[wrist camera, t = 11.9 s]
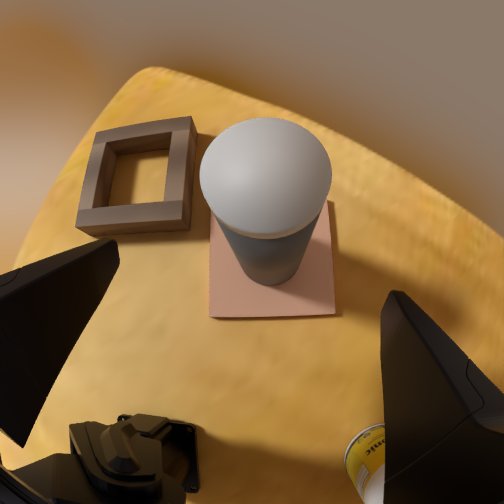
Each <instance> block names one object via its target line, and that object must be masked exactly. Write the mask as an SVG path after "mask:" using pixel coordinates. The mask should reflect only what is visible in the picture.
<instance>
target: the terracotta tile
mask: <svg viewBox="0 0 504 504" xmlns="http://www.w3.org/2000/svg"><path fill="white" fill-rule="evenodd" d="M325 314H336V313H335V291H334V274H333V260H332V247H331V235H330V224H329V214H328V205H327V198H326V200H325V203H324V206H323V208H322V211H321V213H320V216H319V218H318V221H317V223H316V226H315V229H314V231H313V234H312V236H311V239H310V241H309V243H308V246H307V248H306V251H305V253H304V256H303V258H302V261H301V263H300V265H299V268H298V270H297V271H296V273H295V274H294V276H293V277H292V278H290V279H289V280H288V281H286V282H284V283H282V284H280V285H275V286H265V285H261V284H258V283H256V282H254V281H252V280H251V279H250V278H249V277H248V276H247V275H246V274H245V273H244V271H243V269H242V267H241V266H240V264H239V262H238V260H237V258H236V256H235V254H234V252H233V250H232V249H231V247H230V245H229V243H228V241H227V239H226V237H225V235H224V233H223V232H222V230H221V228H220V226H219V224H218V222H217V220H216V218H215V216H214V214H213V212H212V211H211V224H210V265H209V317H277V316H305V315H325Z"/></svg>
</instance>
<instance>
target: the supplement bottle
mask: <svg viewBox="0 0 504 504" xmlns="http://www.w3.org/2000/svg"><path fill="white" fill-rule="evenodd" d="M344 463H345V468H346V471H347V473H348V475H349V476H350V478H351V480H352V482H353V484H354V486H355V487H356V489H357V491H358V493H359V495H360V497H361V498H362V500H363V502H364V504H383V495H384V483H385V482H384V475H385V426H384V423H383V424H376V425H373V426H370V427H368V428H366V429H364V430H363V431H361V432H360V433H359V434H357V435H356V436H355V437H354V438H353V440H352V441H351V442H350V444H349V446H348V448H347V450H346V453H345V458H344Z"/></svg>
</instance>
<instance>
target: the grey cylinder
mask: <svg viewBox="0 0 504 504" xmlns="http://www.w3.org/2000/svg"><path fill="white" fill-rule="evenodd" d="M331 179H332V169H331V163H330V159H329V157H328V154H327V152H326V150H325V148H324V147H323V145H322V144H321V143H320V141H319V140H318V139H317V138H316V137H315V136H314V135H313V134H312V133H310V132H309V131H308V130H306V129H305V128H303V127H302V126H300V125H298V124H295V123H293V122H290V121H287V120H283V119H279V118H254V119H249V120H245V121H242V122H239V123H237V124H235V125H233V126H231V127H229V128H227V129H226V130H224V131H223V132H222V133H220V134H219V135H218V136H217V137H216V138H215V139H214V140H213V142H212V143H211V144H210V145H209V147H208V148H207V150H206V152H205V154H204V156H203V159H202V162H201V166H200V184H201V189H202V192H203V195H204V197H205V199H206V201H207V203H208V205H209V207H210V209H211V211H212V212H213V214H214V216H215V218H216V220H217V222H218V224H219V226H220V228H221V230H222V232H223V233H224V235H225V237H226V239H227V241H228V243H229V245H230V247H231V249H232V250H233V252H234V254H235V256H236V258H237V260H238V262H239V264H240V266H241V267H242V269H243V271H244V273H245V274H246V275H247V276H248V277H249V278H250V279H251V280H252V281H254V282H256V283H258V284H261V285H265V286H275V285H280V284H282V283H284V282H286V281H288V280H289V279H290V278H292V277H293V276H294V274H295V273H296V271H297V270H298V268H299V265H300V263H301V261H302V258H303V256H304V253H305V251H306V248H307V246H308V243H309V241H310V239H311V236H312V234H313V231H314V229H315V226H316V223H317V221H318V218H319V216H320V213H321V211H322V208H323V206H324V203H325V200H326V198H327V195H328V192H329V190H330V186H331Z"/></svg>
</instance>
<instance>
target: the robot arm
mask: <svg viewBox="0 0 504 504" xmlns="http://www.w3.org/2000/svg"><path fill="white" fill-rule="evenodd" d="M119 264H120V258H119V252H118V245H117V242H116V240H114V239H110V238H103V239H100V240H97V241H94V242H91V243H88V244H85V245H82V246H79V247H76V248H73V249H70V250H67V251H64V252H62V253H59V254H56V255H53V256H50V257H48V258H45V259H42V260H39V261H37V262H34V263H31V264H29V265H26V266H23V267H22V268H18V269H16V270H13V271H10V272H8V273H5V274H2V275H0V431H1V432H2V433H3V434H5V435H6V436H7V437H8V438H10V439H11V440H12V441H13V442H15V443H16V444H17V445H19V446H20V447H21V448H24V446H25V444H26V442H27V439H28V437H29V435H30V433H31V430H32V428H33V426H34V424H35V422H36V419H37V417H38V415H39V413H40V411H41V409H42V407H43V405H44V403H45V401H46V397H47V396H48V394H49V392H50V390H51V388H52V386H53V384H54V382H55V380H56V379H57V377H58V375H59V373H60V371H61V369H62V367H63V365H64V364H65V362H66V360H67V358H68V356H69V355H70V353H71V351H72V349H73V347H74V346H75V344H76V342H77V340H78V339H79V337H80V335H81V334H82V332H83V330H84V329H85V327H86V325H87V324H88V322H89V320H90V319H91V317H92V315H93V314H94V312H95V310H96V309H97V307H98V306H99V304H100V302H101V300H102V299H103V297H104V295H105V293H106V291H107V289H108V287H109V285H110V283H111V281H112V279H113V277H114V275H115V273H116V271H117V269H118V267H119ZM380 359H381V372H382V385H383V401H384V426H385V475H384V482H385V483H384V495H383V504H504V394H503V393H502V392H501V391H500V390H499V389H498V388H497V387H496V386H495V385H494V384H493V383H492V382H491V381H490V380H489V379H488V378H487V377H486V376H485V375H484V373H483V372H482V371H481V370H480V369H479V368H478V367H477V366H476V365H475V364H474V363H473V362H472V360H471V359H468V356H467V355H466V354H465V353H464V352H463V351H462V350H461V349H460V348H459V347H458V346H457V344H456V343H455V342H454V341H453V340H452V339H451V338H450V337H449V336H448V335H447V334H446V333H445V332H444V331H443V330H442V329H441V328H440V327H439V326H438V325H437V324H436V323H435V322H434V321H433V320H432V319H431V318H430V317H429V316H428V315H427V314H426V313H425V312H424V311H423V310H422V309H421V308H420V307H419V306H418V305H417V304H416V303H415V302H414V301H413V300H412V299H411V298H410V297H409V296H408V295H407V294H406V293H405V292H403V291H398V290H391V291H390V292H389V294H388V297H387V299H386V301H385V304H384V306H383V308H382V311H381V346H380ZM122 418H123V419H125V421H123V420H122ZM117 421H118V422H117V423H115V424H113V425H112V424H111V425H104V424H101V423H98V422H94V421H92V422H89V421H86V422H84V423H76V424H70V425H69V435H70V450H71V454H63V453H56V454H53V455H50V456H48V457H46V458H43V459H41V460H39V461H36V462H34V463H31V464H29V465H26V466H24V467H21V468H19V469H16V470H13V471H11V470H7V469H6V468H5V467H4V466H3V465H2V460H1V455H0V504H186V493H185V492H187V493H197V492H198V491H199V490H200V479H199V466H198V452H197V435H196V427H195V426H194V425H193V424H191V423H184V422H174V421H170V420H169V419H168V418H167V417H159V416H152V415H145V414H136V415H135V416H131V415H126V414H122V415H120V416H119V417H118V419H117ZM187 427H189V428H191V430H192V432H189V431H187V429H186V428H187ZM191 486H194V487H195V488H196V489H193V488H192V487H191Z"/></svg>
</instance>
